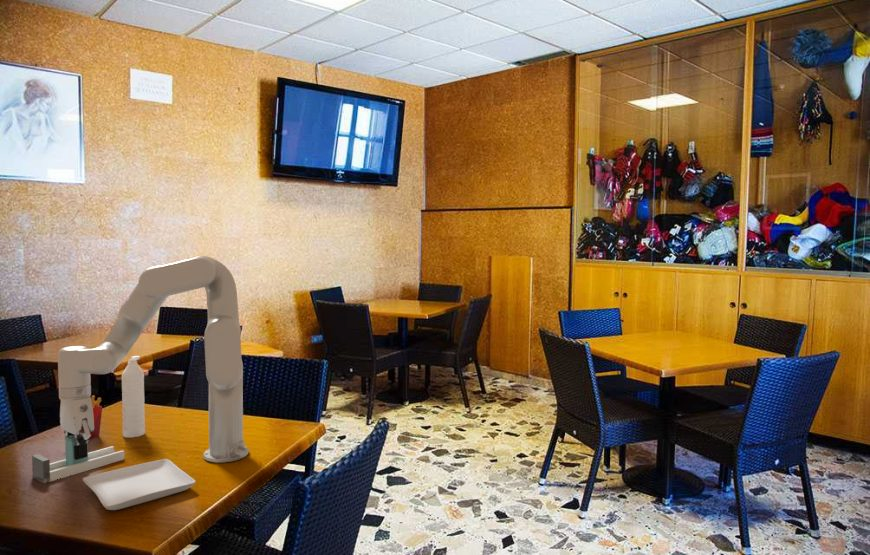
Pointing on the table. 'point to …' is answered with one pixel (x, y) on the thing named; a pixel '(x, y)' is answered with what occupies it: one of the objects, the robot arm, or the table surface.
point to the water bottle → (133, 399)
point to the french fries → (96, 417)
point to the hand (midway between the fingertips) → (76, 455)
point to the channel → (60, 470)
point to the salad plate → (138, 483)
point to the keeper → (72, 450)
